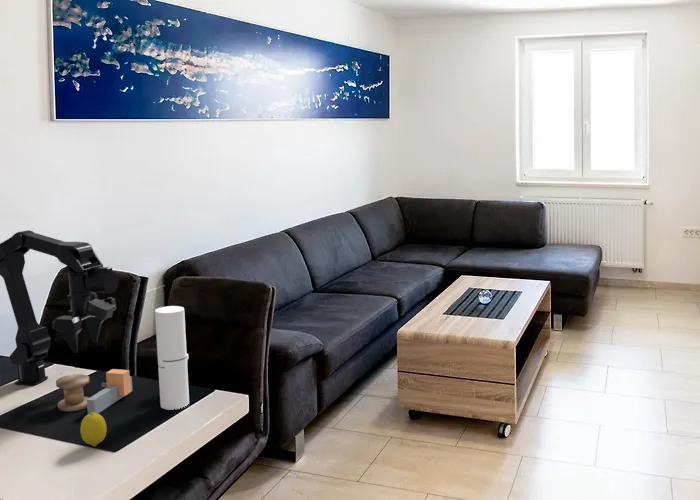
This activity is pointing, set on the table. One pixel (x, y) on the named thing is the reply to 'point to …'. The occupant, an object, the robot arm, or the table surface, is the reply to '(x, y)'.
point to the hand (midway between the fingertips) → (85, 347)
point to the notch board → (104, 399)
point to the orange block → (118, 381)
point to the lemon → (93, 429)
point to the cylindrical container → (172, 357)
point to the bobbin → (73, 392)
